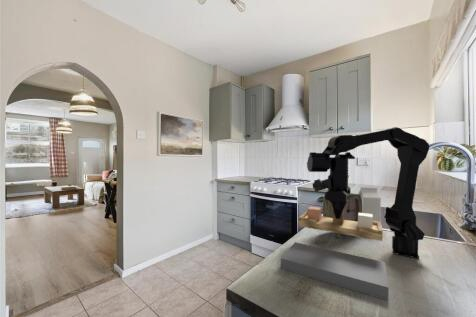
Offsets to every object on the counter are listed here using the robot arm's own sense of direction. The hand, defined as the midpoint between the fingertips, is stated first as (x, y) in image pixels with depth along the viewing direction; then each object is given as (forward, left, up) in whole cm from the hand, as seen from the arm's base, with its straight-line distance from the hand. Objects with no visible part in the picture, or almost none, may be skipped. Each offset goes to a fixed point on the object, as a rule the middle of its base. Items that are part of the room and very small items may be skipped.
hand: (338, 217), depth 74 cm
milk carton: (-9, -35, -12) cm, 38 cm away
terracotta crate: (+8, 0, -2) cm, 8 cm away
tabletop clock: (+1, -20, -12) cm, 24 cm away
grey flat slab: (0, +14, -12) cm, 19 cm away
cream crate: (-8, 0, -2) cm, 8 cm away
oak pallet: (0, 0, -4) cm, 4 cm away
